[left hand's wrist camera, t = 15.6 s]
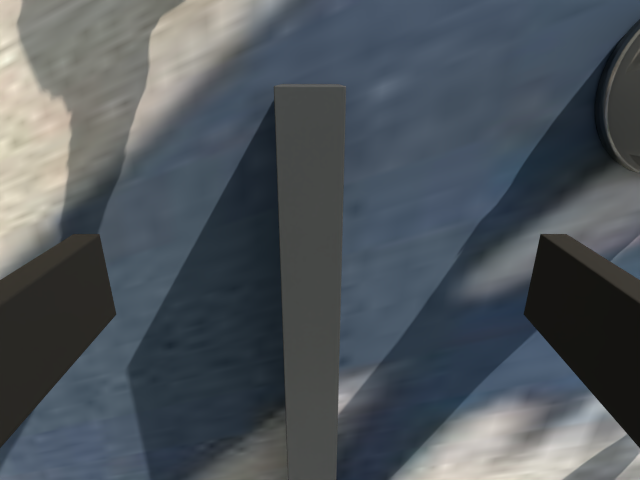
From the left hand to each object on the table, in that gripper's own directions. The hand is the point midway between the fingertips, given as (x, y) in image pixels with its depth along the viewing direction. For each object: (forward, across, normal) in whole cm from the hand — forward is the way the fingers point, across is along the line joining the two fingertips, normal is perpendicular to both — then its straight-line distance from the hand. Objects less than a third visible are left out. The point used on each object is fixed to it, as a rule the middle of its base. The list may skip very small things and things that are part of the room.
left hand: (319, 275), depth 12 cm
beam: (+26, -1, -24) cm, 35 cm away
